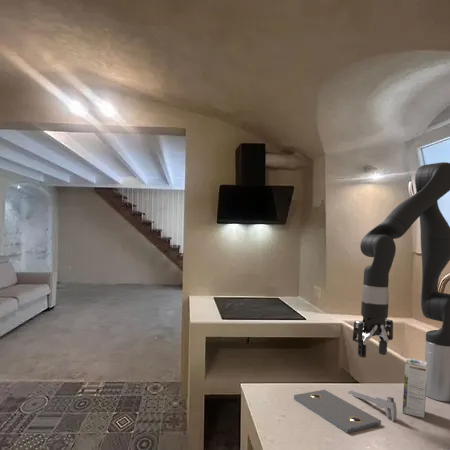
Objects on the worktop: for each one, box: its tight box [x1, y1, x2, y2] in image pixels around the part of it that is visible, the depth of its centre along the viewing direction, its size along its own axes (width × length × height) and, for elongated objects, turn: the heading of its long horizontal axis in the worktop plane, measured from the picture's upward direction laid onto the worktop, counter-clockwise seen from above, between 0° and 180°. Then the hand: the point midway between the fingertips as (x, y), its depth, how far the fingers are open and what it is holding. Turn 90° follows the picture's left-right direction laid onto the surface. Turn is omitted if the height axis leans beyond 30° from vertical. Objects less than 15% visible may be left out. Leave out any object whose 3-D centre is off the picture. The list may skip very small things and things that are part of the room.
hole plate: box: [293, 389, 382, 434], centre depth 112 cm, size 12×22×1 cm, turn 27°
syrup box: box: [402, 358, 428, 419], centre depth 114 cm, size 6×6×14 cm
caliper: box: [347, 389, 398, 422], centre depth 117 cm, size 20×1×6 cm, turn 18°
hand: (372, 355), depth 117 cm, fingers open, 8 cm apart
